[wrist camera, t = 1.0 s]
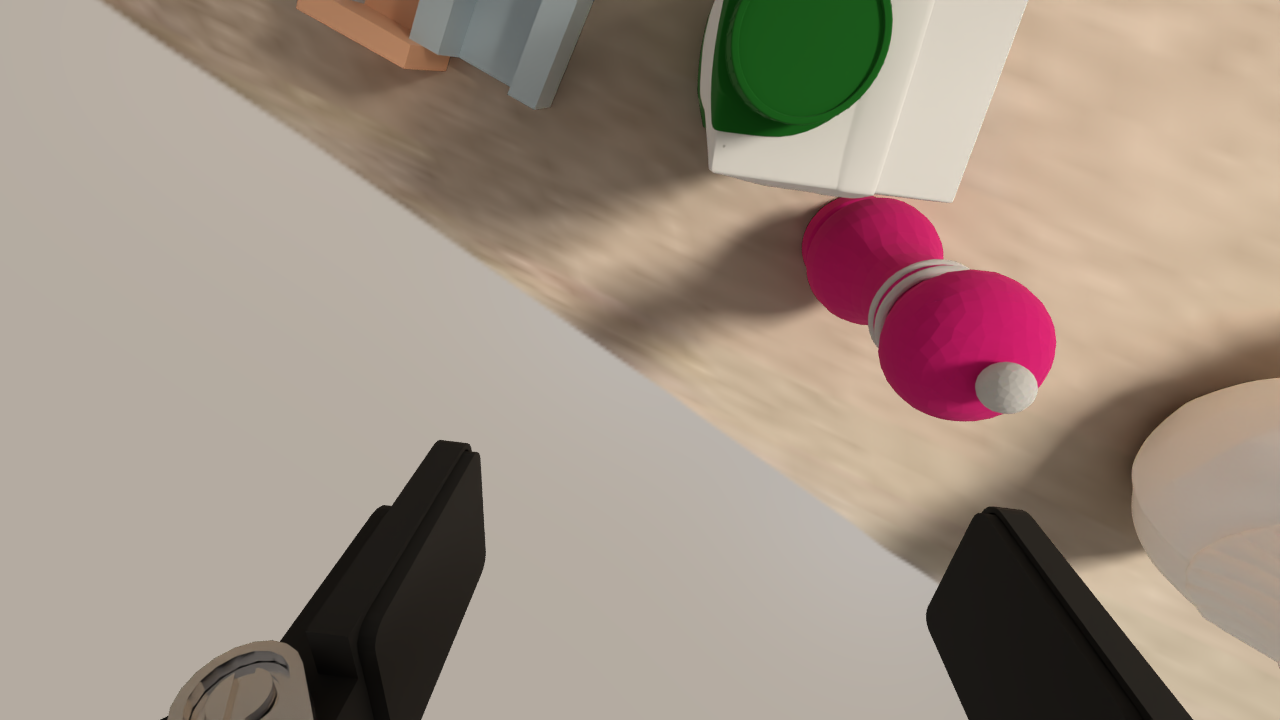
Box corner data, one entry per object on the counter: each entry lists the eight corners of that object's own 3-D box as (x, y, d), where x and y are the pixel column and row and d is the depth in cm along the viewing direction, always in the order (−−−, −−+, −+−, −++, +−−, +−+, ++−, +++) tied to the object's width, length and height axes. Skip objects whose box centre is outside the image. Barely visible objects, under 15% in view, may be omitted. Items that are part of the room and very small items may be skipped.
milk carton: (710, -32, 29) (753, -214, 11) (875, -11, 29) (1177, -161, 11) (685, 140, 33) (689, 204, 16) (831, 159, 33) (1002, 245, 15)
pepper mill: (787, 294, 37) (885, 484, 20) (800, 185, 34) (930, 295, 16) (895, 295, 37) (1096, 491, 19) (918, 185, 34) (1186, 297, 16)
